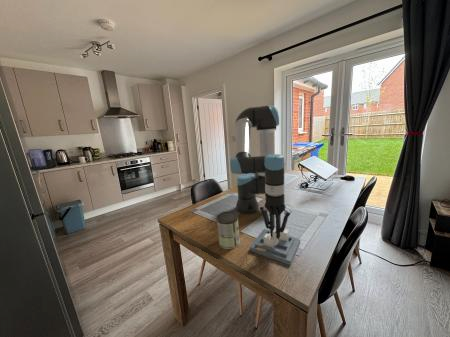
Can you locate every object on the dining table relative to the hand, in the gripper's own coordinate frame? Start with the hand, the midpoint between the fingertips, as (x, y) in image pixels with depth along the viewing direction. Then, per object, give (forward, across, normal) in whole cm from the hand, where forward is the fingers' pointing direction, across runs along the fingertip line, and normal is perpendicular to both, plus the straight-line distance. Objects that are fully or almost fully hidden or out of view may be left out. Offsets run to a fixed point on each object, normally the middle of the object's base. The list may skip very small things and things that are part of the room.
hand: (275, 243), depth 79 cm
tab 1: (+2, -3, 0) cm, 3 cm away
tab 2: (+2, +1, +7) cm, 7 cm away
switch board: (+4, -1, +3) cm, 6 cm away
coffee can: (+5, -22, -4) cm, 23 cm away
